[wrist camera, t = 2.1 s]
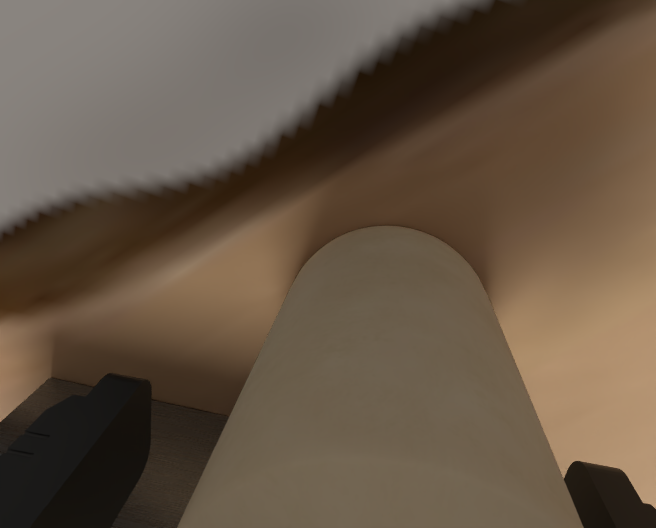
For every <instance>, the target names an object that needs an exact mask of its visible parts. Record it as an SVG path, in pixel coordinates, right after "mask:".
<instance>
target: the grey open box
mask: <svg viewBox="0 0 656 528" xmlns="http://www.w3.org/2000/svg"><path fill="white" fill-rule="evenodd" d="M93 388H94V387H90V386H86V385H81V384H77V383H72V382H68V381H63V380H58V379H54V378H49V379H48V380H47V381H46V382H45V383H44V384H42V385H41V386H40V387H39V388H38V389H37V390H36V391H35V392H34V393H32V394H31V395H30V396H29V397H28V398H27V399H26V400H25V401H24V402H22V403H21V404H20V405H19V406H18V407H17V408H16V409H15V410H13V411H12V412H11V413H10V414H9V415H8V416H7V417H6V418H5V419H3V420H2V421H1V422H0V456H1V455H2V454H3V453H6V452H7V450H8V447H9V446H10V445H11V444H12V443H13V442H14V441H15V440H16V439H17V438H18V437H19V436H20V435H24V433H25V430H26V429H27V428H28V427H29V426H30V425H31V424H32V423H33V422H34V421H35V420H36V419H37V418H38V417H39V416H40V415H41V414H42V413H43V412H44V411H45V410H46V409H48V408H50V407H52V406H54V405H56V404H57V403H59V402H61V401H63V400H65V399H66V398H68V397H70V396H72V395H78V396H84V397H86V396H87V395H88V394H89V392H90V391H91V390H92V389H93ZM228 419H229V417H228V416H223V415H218V414H214V413H209V412H205V411H200V410H196V409H191V408H186V407H182V406H177V405H173V404H168V403H164V402H159V401H154V400H151V445H150V452H149V456H148V460H147V463H146V466H145V469H144V471H143V473H142V475H141V477H140V479H139V481H138V482H137V484H136V486H135V487H134V489H133V491H132V492H131V494H130V496H129V497H128V499H127V501H126V503H125V504H124V506H123V508H122V509H121V511H120V513H119V514H118V516H117V518H116V519H115V521H114V523H113V524H112V526H111V528H177V527H178V525H179V522H180V520H181V518H182V516H183V514H184V512H185V510H186V507H187V505H188V503H189V501H190V499H191V497H192V495H193V493H194V490H195V488H196V486H197V484H198V482H199V480H200V478H201V476H202V474H203V471H204V469H205V467H206V465H207V463H208V461H209V459H210V457H211V454H212V452H213V450H214V448H215V446H216V444H217V442H218V440H219V438H220V435H221V433H222V431H223V429H224V427H225V425H226V423H227V421H228Z"/></svg>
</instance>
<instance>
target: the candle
mask: <svg viewBox="0 0 656 528" xmlns="http://www.w3.org/2000/svg"><path fill="white" fill-rule="evenodd" d="M177 528H584V527H583V525H582V523H581V520H580V518H579V515H578V513H577V510H576V508H575V506H574V503H573V501H572V498H571V496H570V493H569V491H568V489H567V486H566V484H565V481H564V479H563V477H562V474H561V472H560V469H559V467H558V464H557V462H556V460H555V457H554V455H553V452H552V450H551V448H550V445H549V443H548V440H547V438H546V435H545V433H544V431H543V428H542V426H541V423H540V421H539V418H538V416H537V414H536V411H535V409H534V406H533V404H532V402H531V399H530V397H529V394H528V392H527V389H526V387H525V385H524V382H523V380H522V377H521V375H520V372H519V370H518V368H517V365H516V363H515V360H514V358H513V356H512V353H511V351H510V348H509V346H508V343H507V341H506V339H505V336H504V334H503V331H502V329H501V327H500V324H499V322H498V319H497V317H496V314H495V312H494V310H493V307H492V305H491V302H490V300H489V298H488V296H487V294H486V292H485V289H484V287H483V285H482V283H481V281H480V279H479V277H478V276H477V274H476V273H475V271H474V270H473V269H472V267H471V266H470V265H469V264H468V262H467V261H466V260H465V259H464V258H463V257H462V256H461V255H460V254H459V253H458V252H456V251H455V250H454V249H453V248H451V247H450V246H449V245H448V244H446V243H444V242H443V241H441V240H439V239H438V238H436V237H434V236H432V235H429V234H427V233H425V232H422V231H418V230H415V229H412V228H406V227H400V226H372V227H366V228H362V229H357V230H354V231H351V232H348V233H346V234H343V235H341V236H339V237H337V238H335V239H333V240H332V241H330V242H329V243H327V244H326V245H325V246H323V247H322V248H321V249H319V250H318V251H317V252H316V253H315V254H314V255H313V256H312V257H311V258H310V259H309V260H308V261H307V262H306V264H305V265H304V266H303V267H302V269H301V270H300V272H299V273H298V275H297V277H296V278H295V280H294V282H293V284H292V286H291V288H290V290H289V292H288V294H287V296H286V298H285V300H284V302H283V304H282V306H281V309H280V311H279V313H278V315H277V317H276V319H275V321H274V323H273V325H272V328H271V330H270V332H269V334H268V336H267V338H266V340H265V342H264V345H263V347H262V349H261V351H260V353H259V355H258V357H257V359H256V361H255V364H254V366H253V368H252V370H251V372H250V374H249V376H248V378H247V380H246V383H245V385H244V387H243V389H242V391H241V393H240V395H239V397H238V399H237V402H236V404H235V406H234V408H233V410H232V412H231V414H230V416H229V419H228V421H227V423H226V425H225V427H224V429H223V431H222V433H221V435H220V438H219V440H218V442H217V444H216V446H215V448H214V450H213V452H212V454H211V457H210V459H209V461H208V463H207V465H206V467H205V469H204V471H203V474H202V476H201V478H200V480H199V482H198V484H197V486H196V488H195V490H194V493H193V495H192V497H191V499H190V501H189V503H188V505H187V507H186V510H185V512H184V514H183V516H182V518H181V520H180V522H179V525H178V527H177Z"/></svg>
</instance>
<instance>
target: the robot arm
mask: <svg viewBox="0 0 656 528" xmlns="http://www.w3.org/2000/svg"><path fill="white" fill-rule="evenodd" d="M151 395H152V389H151V383H150V381H149V380H146V379H141V378H135V377H130V376H124V375H119V374H114V373H109V374H107V375H105V376H104V377H103V378H102V379H101V380H100V381H99V383H98V384H97V385H96V386H95V387H94V388H93V389H92V390H91V391H90V392H89V394H88V395H87V396H86V397H84V396H78V395H72V396H70V397H68V398H66V399H65V400H63V401H61V402H59V403H57V404H56V405H54V406H52V407H50V408H48V409H46V410H45V411H44V412H43V413H42V414H41V415H40V416H39V417H38V418H37V419H36V420H35V421H34V422H33V423H32V424H31V425H30V426H29V427H28V428H27V429H26V430H25V433H24V435H20V436H19V437H18V438H17V439H16V440H15V441H14V442H13V443H12V444H11V445H10V446H9V447H8V450H7V452H6V453H3V454H2V455H1V456H0V528H111V526H112V524H113V523H114V521H115V519H116V518H117V516H118V514H119V513H120V511H121V509H122V508H123V506H124V504H125V503H126V501H127V499H128V497H129V496H130V494H131V492H132V491H133V489H134V487H135V486H136V484H137V482H138V481H139V479H140V477H141V475H142V473H143V471H144V469H145V466H146V463H147V460H148V456H149V452H150V445H151ZM564 481H565V484H566V486H567V489H568V491H569V493H570V496H571V498H572V501H573V503H574V506H575V508H576V510H577V513H578V515H579V518H580V520H581V523H582V525H583V527H584V528H656V509H655V508H654V507H653V506H652V505H650V504H645V503H643V502H642V501H641V499H640V497H639V496H638V494H637V492H636V491H635V489H634V487H633V486H632V484H631V482H630V480H629V479H628V477H627V476H626V474H625V473H624V472H623V471H622V470H620V469H618V468H613V467H608V466H602V465H597V464H591V463H586V462H581V461H575V462H573V463H572V464H571V465H570V467H569V468H568V470H567V473H566V475H565V478H564Z"/></svg>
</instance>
